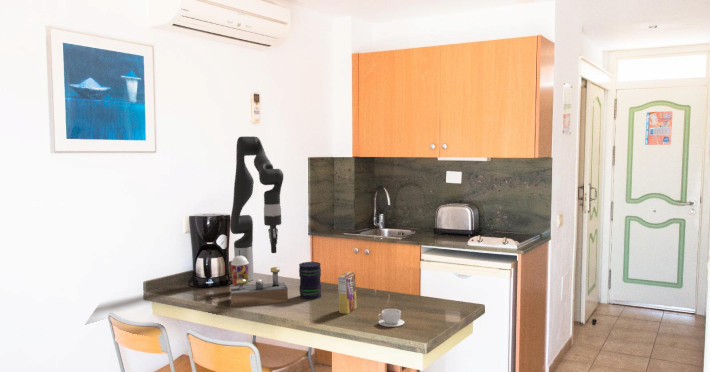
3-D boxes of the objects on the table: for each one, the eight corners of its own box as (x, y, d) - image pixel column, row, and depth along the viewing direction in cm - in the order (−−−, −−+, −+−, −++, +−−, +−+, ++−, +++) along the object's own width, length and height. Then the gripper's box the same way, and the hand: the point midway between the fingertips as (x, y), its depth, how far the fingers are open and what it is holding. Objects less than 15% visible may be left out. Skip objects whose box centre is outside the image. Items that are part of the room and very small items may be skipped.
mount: (231, 299, 257) (230, 286, 257) (284, 294, 263) (284, 281, 262) (232, 306, 245) (231, 292, 245) (287, 301, 251) (287, 288, 251)
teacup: (402, 319, 224) (402, 307, 224) (406, 327, 214) (405, 315, 214) (377, 319, 224) (377, 308, 224) (379, 328, 214) (379, 315, 214)
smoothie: (247, 293, 266) (246, 251, 264) (230, 294, 266) (228, 251, 264) (251, 289, 274) (250, 247, 272) (234, 289, 274) (232, 248, 272)
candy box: (347, 307, 241) (346, 271, 240) (356, 308, 239) (356, 272, 238) (338, 313, 233) (337, 276, 232) (347, 314, 231) (347, 277, 230)
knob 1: (237, 299, 254) (236, 278, 253) (246, 298, 255) (245, 278, 254) (237, 301, 250) (236, 281, 249) (246, 301, 251) (246, 280, 250)
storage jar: (323, 293, 263) (322, 261, 262) (319, 299, 253) (319, 266, 252) (301, 293, 264) (301, 261, 263) (297, 299, 254) (296, 266, 253)
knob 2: (270, 287, 257) (270, 267, 256) (279, 286, 258) (279, 266, 257) (271, 289, 253) (271, 269, 252) (280, 289, 254) (280, 268, 253)
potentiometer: (255, 288, 251) (255, 279, 251) (262, 288, 252) (262, 279, 252) (256, 290, 248) (255, 281, 248) (263, 289, 249) (262, 280, 249)
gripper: (262, 212, 258) (264, 250, 260) (265, 216, 246) (266, 256, 247) (279, 212, 260) (280, 249, 261) (282, 215, 247) (284, 255, 249)
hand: (273, 252), depth 254 cm, fingers closed
